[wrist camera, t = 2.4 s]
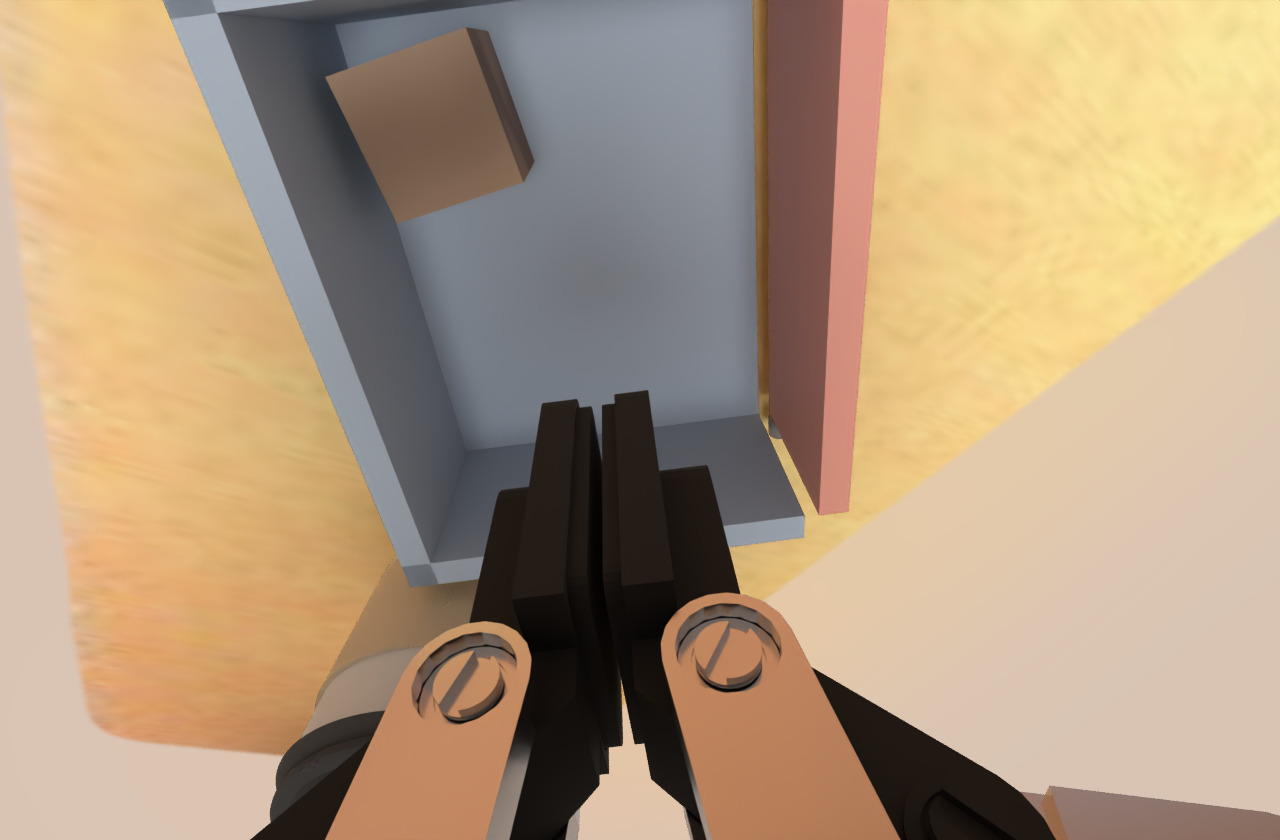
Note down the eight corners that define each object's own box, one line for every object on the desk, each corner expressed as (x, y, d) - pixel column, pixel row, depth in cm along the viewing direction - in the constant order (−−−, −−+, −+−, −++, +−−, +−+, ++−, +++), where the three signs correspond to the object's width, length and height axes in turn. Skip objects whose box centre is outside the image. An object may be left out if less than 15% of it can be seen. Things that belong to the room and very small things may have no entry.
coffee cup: (606, 549, 32) (613, 880, 19) (478, 627, 35) (408, 970, 22) (483, 433, 28) (390, 754, 15) (348, 531, 31) (168, 880, 18)
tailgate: (801, 408, 27) (860, 510, 21) (769, 412, 27) (819, 515, 21) (812, -31, 19) (912, -69, 13) (767, -25, 19) (846, -60, 13)
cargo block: (534, 161, 22) (523, 182, 18) (427, 196, 22) (397, 223, 19) (488, 30, 20) (465, 27, 16) (371, 72, 20) (324, 77, 17)
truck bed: (784, 417, 29) (843, 532, 22) (454, 459, 29) (410, 587, 22) (788, -72, 20) (893, -137, 13) (303, -8, 20) (146, -39, 13)
